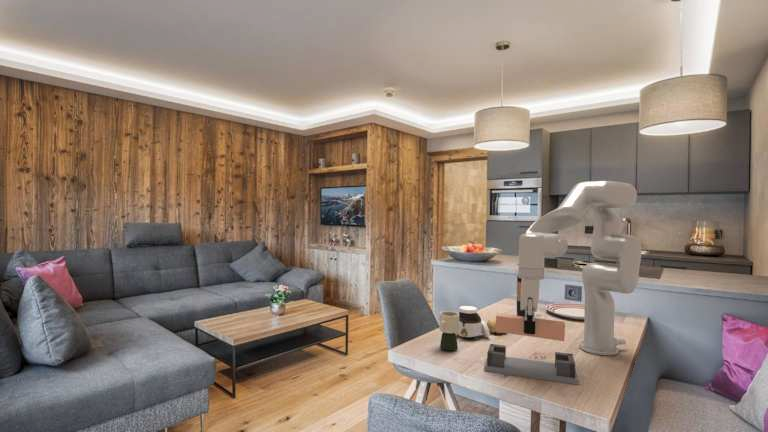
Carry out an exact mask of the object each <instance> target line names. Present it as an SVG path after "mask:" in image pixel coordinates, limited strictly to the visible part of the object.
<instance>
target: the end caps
mask: <svg viewBox="0 0 768 432" xmlns="http://www.w3.org/2000/svg"><path fill="white" fill-rule="evenodd" d="M506 357H507V346H506V345H503V344H495V343H490V345H489V347H488V351H487V356H486V359H487V365H488V366H495V367H502V368H504V360H505V359H506ZM554 363H555V367H556V375H558V376H564V377H571V378H575V368H576V361H575V359H574V355H573V353H567V352H558V351H555V352H554Z"/></svg>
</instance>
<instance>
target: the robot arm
mask: <svg viewBox="0 0 768 432" xmlns="http://www.w3.org/2000/svg"><path fill="white" fill-rule="evenodd" d="M637 198H638V192H637V190H636V187H634V186H633V185H632V184H631V183H627V182H622V181H621V182H619V181H613V180H591V181H590V180H589V181H581V182H578V183H577V184H574V186H573V187H572V188H571V189H570V191H569V193H568V194H567V195H566V196H565V197H564V199H563V201H562V202H561V203H560V204H559V205H558V207H557V208H555V209H553V210H551V211H549V212H547V213H546V214H545V215H541V216H540V217H539V218H538V219H536V220H535V221H534V222H533V223H532V224H531V225H530V226H529V227H528V229H526V231H525V233H522V234H521V235H520V236H519V238H518V240H519V241H518V267H517V268H518V275H517V276H518V277H519V278H522V281H521V305H520V309H521V310H522V311H523V310H525V320H524V333H525V334H535V321H534V319H535V317H536V316H535V315H536V312H538V308H539V299H540V280H541V281H542V280H544V279H545V257H548V258H559V257H561V256H564V254H565V253H567V251H568V248H569V247H568V246H569V244H568V241H567V239H566V238H565V237H564V236H563V235H561V234H559V233H555V232H558V231H562V230H565V229H566V230H567V229H569V228H572V227H575V226H579V224H580V223H581V222H582V221H583V220H584V218H585V217H586V215H587V214H588V212H589V211H591V214H592V216H593V222H594V223H593V230H592V237H591V243H590V253H591V255H592V256H593V257H594V258H597V259H599V260H606V261H614V262H619V264H613V263H606V262H598V261H596V262H588V263H587V264H586V265H584V267H583V269H582V271H581V277H582V282H583V283H582V284H583V288H584V289H583V290H584V304H585V313H584V320H583V322H584V323H583V324H584V325H583V326H584V327H583V329H584V330H583V341H581V342H579V345H578V348H580V349H581V350H582V351H584V352H587V353H589V354H594V355H599V356H615V355H618V354H619V348H618V347H617V346H618V345H620V346H621V345H626V340H625V339H624V338H619V339H618V338H617V337H615V300H614V297H613V296H612V294H611V292H614V293H619V294H624V295H625V294H627V295H628V294H629V295H630V294H631V293H633V292H635V290H636V288H637V285H638V282H639V273H640V266H641V261H642V252H643V251H642V244H641V241H640V240H639V238H638V237H637V236H634V235H632V234H623V233H622V234H621V224H622V221H621V218H620V216H619V214H618V213H617V212H616V211H615V209H627V208H628V209H629V208H630V207H632V206H634V205H635V203H636V201H637ZM532 298H533V299H532Z"/></svg>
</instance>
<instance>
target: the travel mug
mask: <svg viewBox="0 0 768 432" xmlns="http://www.w3.org/2000/svg"><path fill="white" fill-rule="evenodd" d="M516 276H517V277H516V278H517V279H516V316H522V317H525V310H523V311H522V310H521V309H520V305H521V281H522V278H519V277H518V275H516ZM532 299H533V298H532Z"/></svg>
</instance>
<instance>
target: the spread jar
mask: <svg viewBox="0 0 768 432" xmlns="http://www.w3.org/2000/svg"><path fill="white" fill-rule="evenodd" d="M458 313H459V332H457V333H456V336H457V338H459V339H462V340H466V341H474V340H477V339H478V338H479V337H480V336H481V335H482V336H483V337H484V338H489V337H490V335H491V332H490V331H489V329H488V326H487V322H485V321H484V319H482V318H481V316H480V315H479V314H478V308H477V307H476V306H473V305H472V306H471V305H462V306H460V307H459V311H458Z"/></svg>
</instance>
